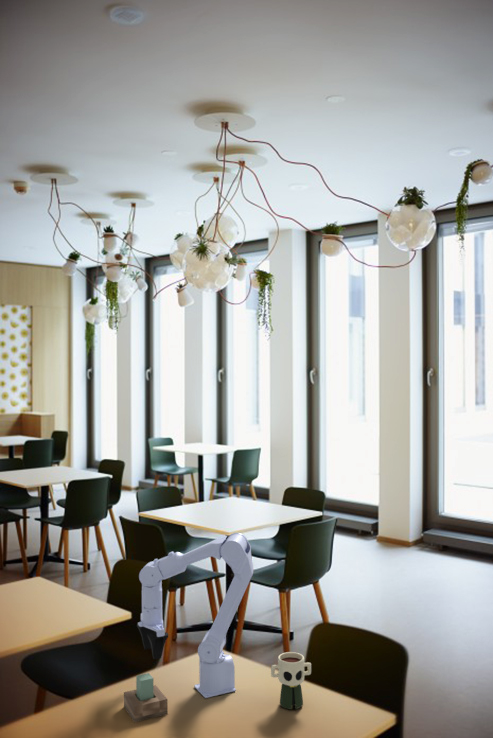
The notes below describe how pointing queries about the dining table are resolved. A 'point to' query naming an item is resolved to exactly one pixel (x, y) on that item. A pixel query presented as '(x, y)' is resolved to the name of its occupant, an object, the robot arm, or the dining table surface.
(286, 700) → the character mug
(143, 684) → the square peg
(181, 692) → the dining table surface
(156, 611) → the robot arm
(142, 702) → the hole block
